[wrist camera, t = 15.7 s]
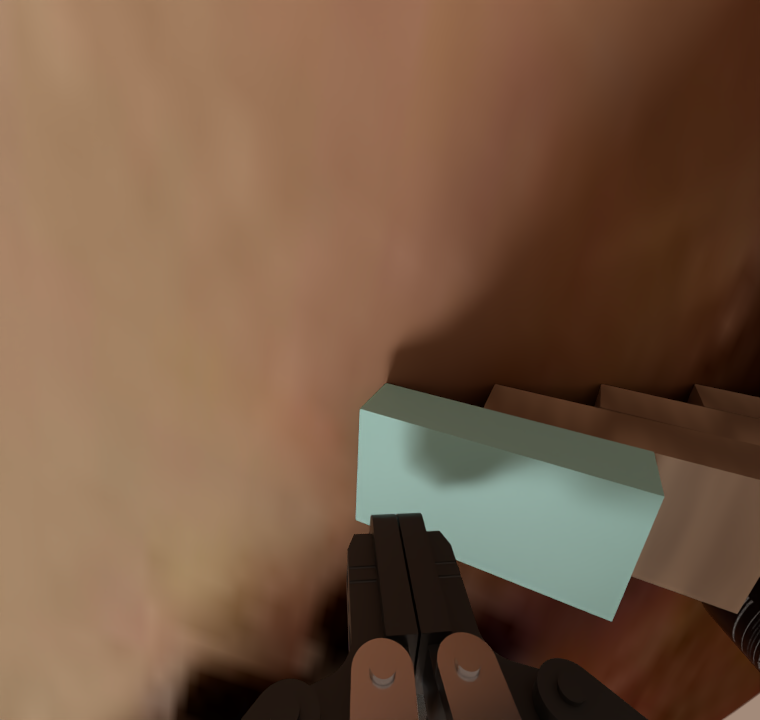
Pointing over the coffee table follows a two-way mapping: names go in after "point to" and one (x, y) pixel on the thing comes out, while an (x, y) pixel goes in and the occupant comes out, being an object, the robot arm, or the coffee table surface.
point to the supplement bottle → (742, 624)
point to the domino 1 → (511, 493)
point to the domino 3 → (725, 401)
